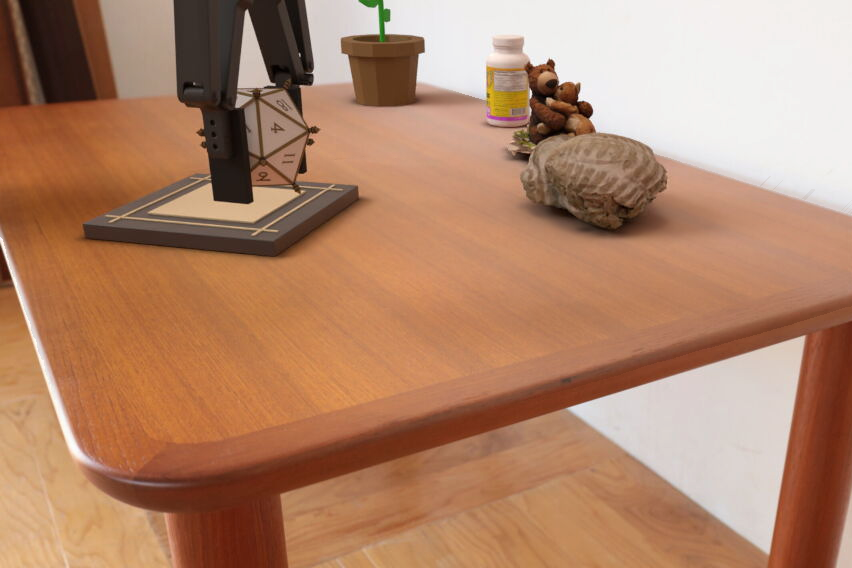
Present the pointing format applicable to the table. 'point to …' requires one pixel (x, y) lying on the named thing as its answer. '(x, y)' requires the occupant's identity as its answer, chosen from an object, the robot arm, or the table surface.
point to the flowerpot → (383, 63)
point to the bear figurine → (551, 110)
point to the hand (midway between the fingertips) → (263, 185)
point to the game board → (223, 216)
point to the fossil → (594, 177)
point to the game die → (273, 135)
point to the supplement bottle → (507, 83)
